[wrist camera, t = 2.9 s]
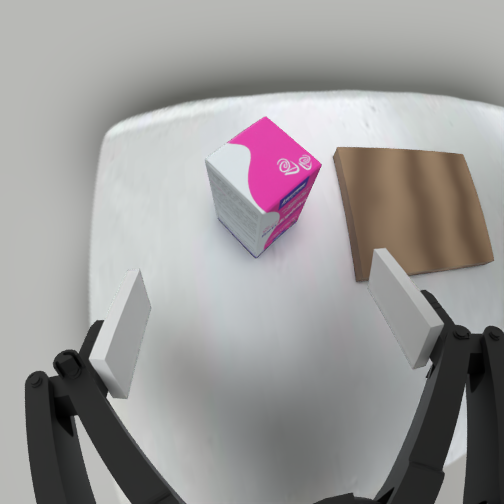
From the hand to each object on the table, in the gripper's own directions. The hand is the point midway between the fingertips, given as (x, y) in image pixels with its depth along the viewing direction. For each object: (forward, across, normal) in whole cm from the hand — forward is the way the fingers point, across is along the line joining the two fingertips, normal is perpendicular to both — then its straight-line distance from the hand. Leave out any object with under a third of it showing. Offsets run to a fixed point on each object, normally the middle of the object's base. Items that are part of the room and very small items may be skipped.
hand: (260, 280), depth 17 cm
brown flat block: (+14, +19, -3) cm, 24 cm away
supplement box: (+14, +1, -3) cm, 15 cm away
